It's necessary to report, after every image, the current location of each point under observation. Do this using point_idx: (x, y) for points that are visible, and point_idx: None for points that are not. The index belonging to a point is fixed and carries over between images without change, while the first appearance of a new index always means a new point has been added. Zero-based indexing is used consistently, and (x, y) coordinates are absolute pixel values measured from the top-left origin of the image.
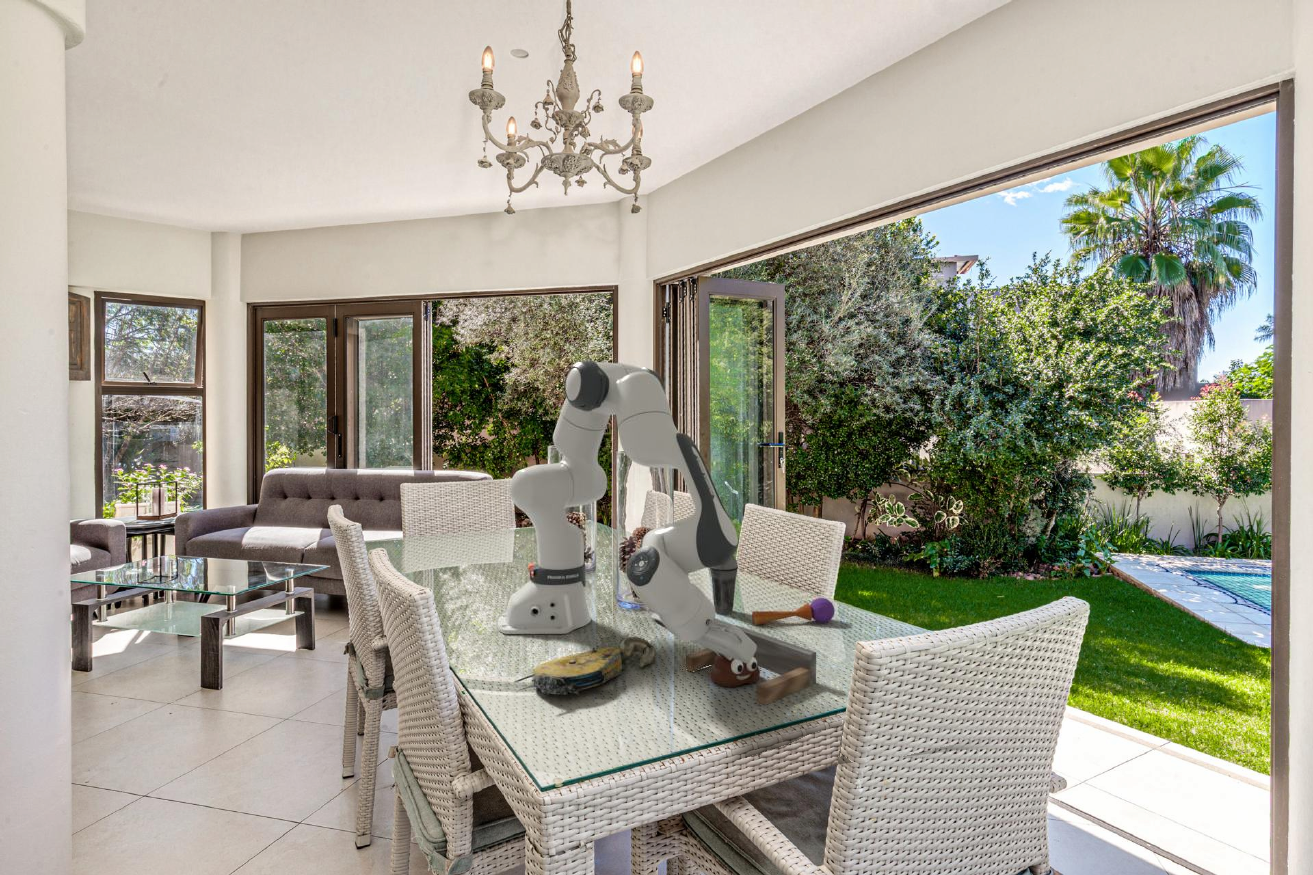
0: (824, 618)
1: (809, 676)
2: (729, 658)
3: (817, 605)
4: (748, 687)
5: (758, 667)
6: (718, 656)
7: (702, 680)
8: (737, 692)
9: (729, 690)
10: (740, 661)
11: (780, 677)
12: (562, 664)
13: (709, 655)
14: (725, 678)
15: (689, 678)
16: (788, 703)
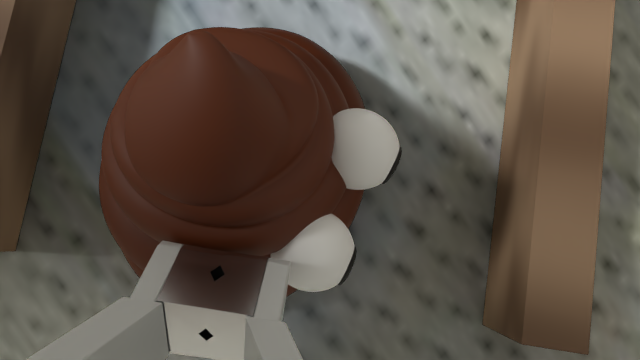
0: None
1: None
2: (282, 318)
3: None
4: (357, 211)
5: (338, 65)
6: (145, 256)
7: (118, 296)
8: (348, 299)
9: (303, 306)
10: (338, 245)
11: (556, 153)
12: None
13: (4, 104)
14: None
15: (45, 322)
16: (604, 241)
